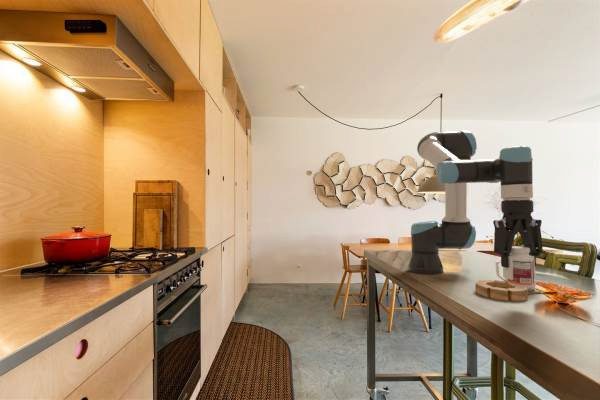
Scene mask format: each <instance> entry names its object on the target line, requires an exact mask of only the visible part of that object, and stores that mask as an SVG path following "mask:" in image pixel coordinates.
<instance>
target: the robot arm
mask: <svg viewBox="0 0 600 400" xmlns="http://www.w3.org/2000/svg"><path fill="white" fill-rule="evenodd" d="M477 145H478V144H477V140H476V137H475V135H474V133H473V132H471V131H469V130H451V131H448V130H447V131H436V132H435V131H434V132H431V133H428V134H427V135H425V136H423V137H422V138H420V140H419V142H418V143H417V148H416V151H417V153H418V156H420V158H422V159H423V160H425V161H428V162H429V163H430V164H431V165H432V166H433V167H434V168H435V177H436V180H437V182H438V183H440V184H445V191H444V193H445V195H444V196H445V197H444V198H445V199H444V200H445V211H444V213H445V216H444V217H442V219H441V223H439V222H438V220H428V221H420V222H415V223H413V224H412V225H411V226H410V237H411V238H410V239H411V241H410V243H411V256H410V259H409V261H408V265H407V266H408V267H407V269H408V270H407V271H408V272H412V273H414V274H422V275H441V274H443V273H444V266H443V264H442V261H441V258H440V256H439V250H443V249H445V250H449V249H450V250H451V249H453V250H465V249H470V248H471V247H473V246H474V244H475V241H476V236H477V230H476V227H475V225H474V224H472V222H471V219H469V218H468V217H467V203H468V202H467V190H468V189H467V184H469V183H470V184H471V183H473V184H474V183H476V184H477V183H489V184H497V183H500V198H501V199H503V200H501V202H500V207H501V209H500V211H501V213H502V214H503V215H502V218H500V219H499V220H498V219H495V220H493V221H492V223H493V226H494V237H493V238H494V240H493V242H494V243H493V253H494V254H497V255H498V256H500V261H501V262H500V266H501V267H502V278H503V279H505V278H507V279H510V280H513V257H510V253H511V249H512V246H513V245H514V241H515V237H516V235H518V234H519V235H520V239H521V240H522V244H523V245H522V246H523V247H527V248H530V253H529V255H530V256H532V257H533V264H534V279H535V278H536V265H537V257H540V255H541V254H542V253H544V252H543V251H544V250H543V240H542V229H541V226H542V219H535V218H533V217H532V213H533V212H534V201H533V200H532V199H533V198H534V197H533V196H534V192H533V191H534V188H533V186H534V185H533V156H532V149H531V147H529V146H528V145H519V146H510V147H504V148H502V149H500V152H499V157H498V158H496V159H473V160H471V158H472V157H473V156H474V155H475V154H476V151H477V148H478V146H477Z"/></svg>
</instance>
